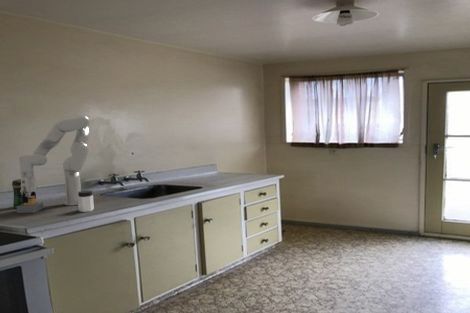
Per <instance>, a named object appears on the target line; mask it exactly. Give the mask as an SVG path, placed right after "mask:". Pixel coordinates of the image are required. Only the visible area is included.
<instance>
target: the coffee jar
mask: <svg viewBox="0 0 470 313" xmlns="http://www.w3.org/2000/svg"><path fill="white" fill-rule="evenodd" d="M11 187H12V190H13V208H15V209H17V208H16V207H17V206H19V205H21V204H24V203H23V201H22V195H21V193H20V190H21V178H19V179H14V180H12V183H11ZM25 194H26V193H25ZM27 196H30V193H28V194H27Z"/></svg>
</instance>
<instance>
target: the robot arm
mask: <svg viewBox="0 0 470 313" xmlns="http://www.w3.org/2000/svg"><path fill="white" fill-rule="evenodd" d="M90 124H91V121H90V118H89V117H88V116H87V115H75V116H74V117H71V118H65V119H64V118H63V119H61V118H60V119H58V120H57V121H56V122H55V123H54V125H52V127H51V129H50V131H49V132H48V133H47V135H46V136H45V138H43V140H42V141H41V142H40V143H39V144H38V146H37V147H36V149H35V150H34V151H33V153H32V154H22V155H21V154H20V156H19V157H18V163H19V171H20V172H19V173H20V179H21V190H20V193H21V195H22V201H23V203H28V196H27V194H28V193H29V195H30V196H36V197H37V195H36V193H37V182H36V177H35V170H34V166H37V167H38V166H44V165H46V164H47V162H48V158H47V155H48V154H49V152H51V150H52V149H54V148H55V147H57V146H58V145H59V144H60V143H61V141H62V139H63V138H64V137H65V135H66V133H69V132H76V133H75V136H74V139H73V141H72V144H71V146H70V148H69V149H70V154H71V156H68V157H66V158H65V159H64V160H63V163H62V167H63V169H62V170H63V173H64V174H63V175H64V183H65V184H64V185H65V186H64V187H65V195H66V196H65V199H66V200H65V201H64V203H63V204H64V206H78V192H80V191H82V186H81V171H82V170H83V168H84V166H85V164H86V161H87V159H88V156H89V154H90V148H89V145H87V144H88V142H89V138H90V134H91V133H90V131H91V130H90V128H89V126H90ZM25 193H26V194H25Z"/></svg>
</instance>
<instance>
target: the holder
mask: <svg viewBox="0 0 470 313" xmlns="http://www.w3.org/2000/svg"><path fill="white" fill-rule="evenodd" d="M15 209H16V214H27V213H36V212H39V211H40V210H42V209H44V202H43V201H40V202H39V201H38V202H37V201H36V204H35V205H26V206H24V204H21V205H19V206H17V207H16V208H15Z"/></svg>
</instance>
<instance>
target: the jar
mask: <svg viewBox="0 0 470 313" xmlns="http://www.w3.org/2000/svg"><path fill="white" fill-rule="evenodd" d="M94 203H95V202H94V195H93V190H90V189H88V190H81V191H80V192H78V205H77V206H78V211H79V212H80V213H88V212H92V211H93V210H95V206H94Z"/></svg>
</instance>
